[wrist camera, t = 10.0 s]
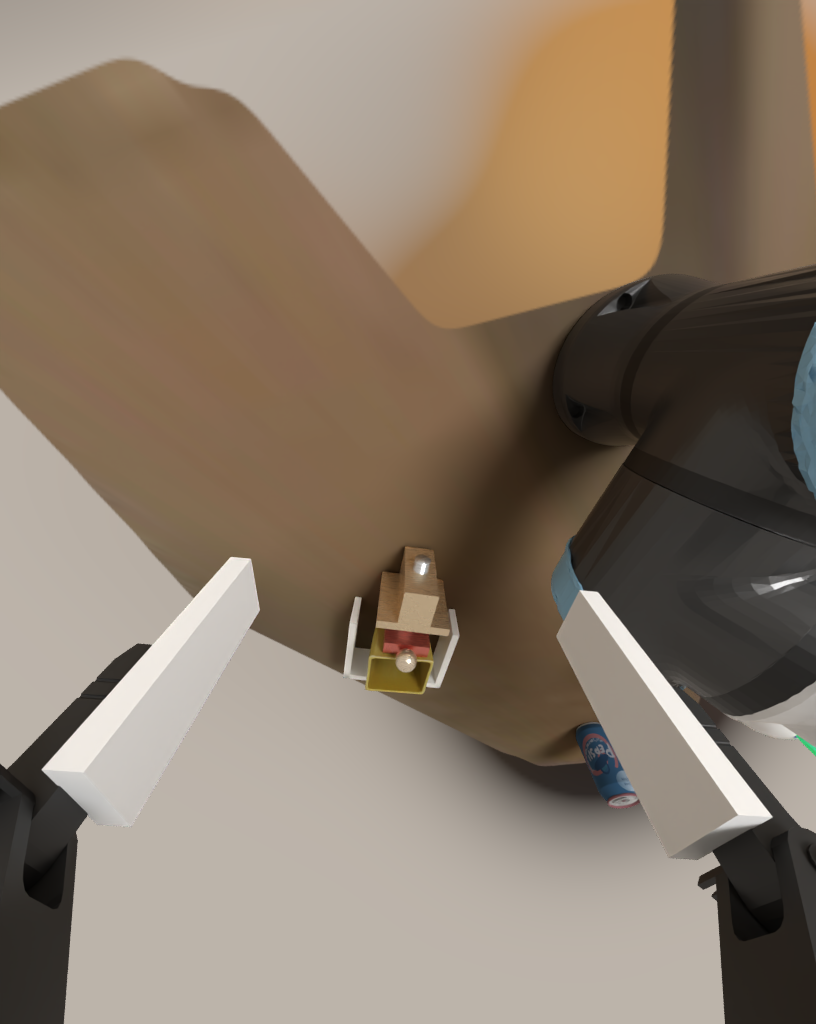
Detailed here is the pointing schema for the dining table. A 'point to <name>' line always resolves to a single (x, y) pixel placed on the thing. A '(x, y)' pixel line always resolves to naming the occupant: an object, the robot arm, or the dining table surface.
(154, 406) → the dining table surface
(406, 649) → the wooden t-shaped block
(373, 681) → the flower pot
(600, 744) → the soda can
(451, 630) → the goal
